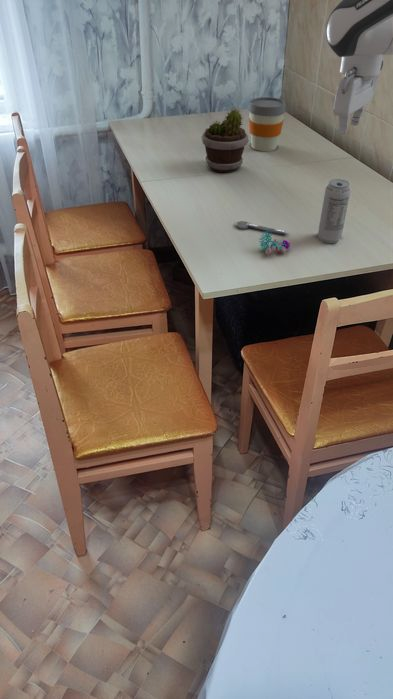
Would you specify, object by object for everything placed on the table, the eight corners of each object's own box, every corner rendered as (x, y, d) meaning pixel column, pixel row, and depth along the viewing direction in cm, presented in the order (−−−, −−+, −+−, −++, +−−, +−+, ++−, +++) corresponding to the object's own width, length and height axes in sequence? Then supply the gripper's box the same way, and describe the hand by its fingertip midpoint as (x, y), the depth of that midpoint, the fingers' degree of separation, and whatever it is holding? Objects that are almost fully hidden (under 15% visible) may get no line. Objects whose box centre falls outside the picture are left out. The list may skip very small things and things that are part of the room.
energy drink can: (338, 233, 143) (349, 178, 134) (342, 244, 139) (354, 188, 129) (315, 232, 143) (324, 177, 134) (319, 244, 139) (328, 187, 129)
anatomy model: (294, 244, 129) (290, 227, 134) (261, 244, 129) (258, 228, 134) (291, 261, 133) (288, 244, 138) (259, 261, 133) (256, 245, 138)
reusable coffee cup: (264, 155, 187) (267, 109, 177) (239, 145, 194) (241, 101, 185) (288, 147, 193) (293, 102, 183) (263, 138, 200) (267, 94, 191)
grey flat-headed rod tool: (287, 231, 144) (288, 228, 143) (284, 237, 141) (284, 234, 141) (239, 222, 148) (239, 218, 147) (234, 227, 145) (234, 224, 145)
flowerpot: (191, 166, 179) (191, 102, 166) (225, 155, 187) (228, 93, 174) (221, 179, 170) (224, 113, 158) (255, 167, 178) (260, 103, 165)
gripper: (360, 73, 114) (348, 140, 122) (385, 60, 129) (373, 122, 137) (332, 69, 117) (321, 136, 125) (359, 58, 131) (348, 118, 139)
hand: (349, 129), depth 131 cm, fingers open, 8 cm apart
